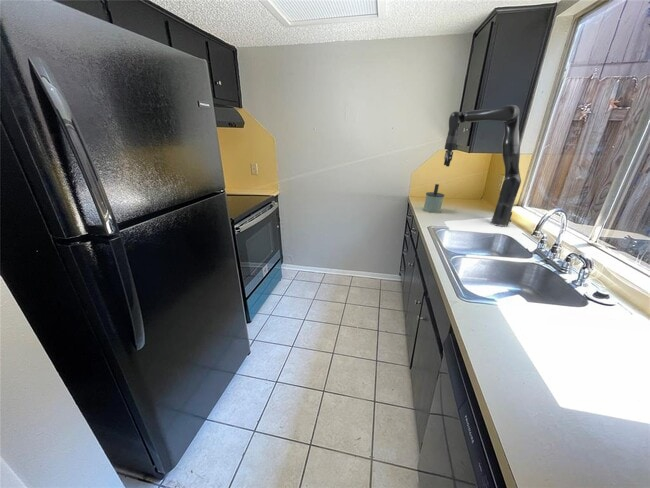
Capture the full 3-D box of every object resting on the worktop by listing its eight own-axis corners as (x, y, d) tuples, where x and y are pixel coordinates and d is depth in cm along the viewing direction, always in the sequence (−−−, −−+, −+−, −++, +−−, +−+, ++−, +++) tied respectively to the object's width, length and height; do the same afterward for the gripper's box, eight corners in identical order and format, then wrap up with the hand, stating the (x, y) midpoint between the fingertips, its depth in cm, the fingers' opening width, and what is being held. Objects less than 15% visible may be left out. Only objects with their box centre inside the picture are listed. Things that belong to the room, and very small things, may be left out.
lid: (440, 194, 205) (442, 183, 201) (446, 198, 193) (449, 186, 189) (423, 193, 206) (425, 182, 202) (428, 197, 193) (431, 185, 190)
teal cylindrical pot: (437, 208, 209) (440, 193, 204) (442, 213, 198) (446, 197, 193) (421, 207, 210) (424, 192, 205) (426, 212, 199) (429, 196, 193)
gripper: (459, 143, 179) (453, 167, 186) (454, 142, 192) (449, 165, 198) (447, 142, 180) (442, 166, 187) (443, 142, 193) (439, 164, 200)
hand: (446, 165), depth 193 cm, fingers open, 8 cm apart
